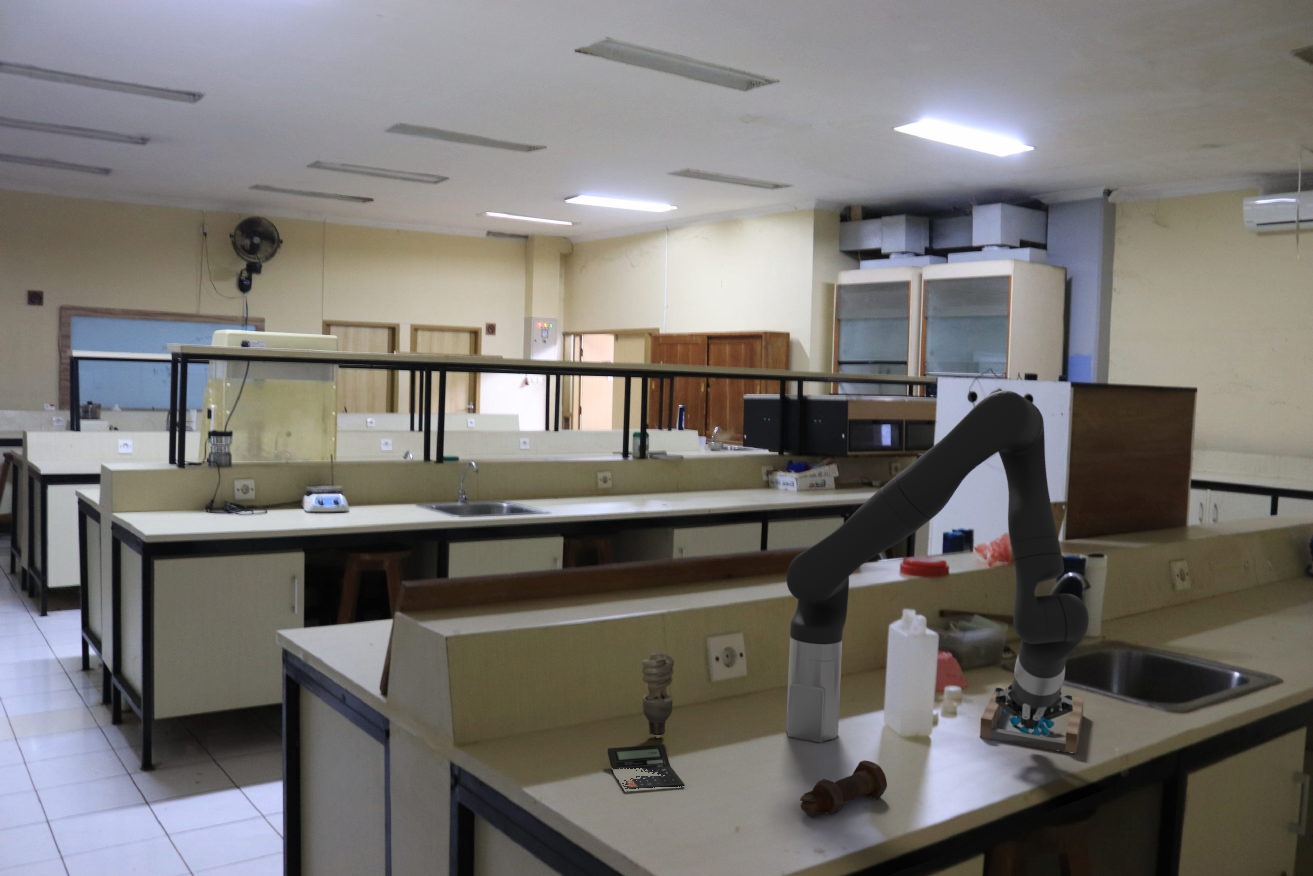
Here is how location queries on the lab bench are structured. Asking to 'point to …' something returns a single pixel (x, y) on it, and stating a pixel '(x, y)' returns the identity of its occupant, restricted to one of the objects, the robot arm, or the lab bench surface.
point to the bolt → (845, 789)
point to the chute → (1068, 745)
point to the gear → (1044, 729)
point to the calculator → (645, 765)
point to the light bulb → (657, 691)
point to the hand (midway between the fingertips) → (1028, 724)
